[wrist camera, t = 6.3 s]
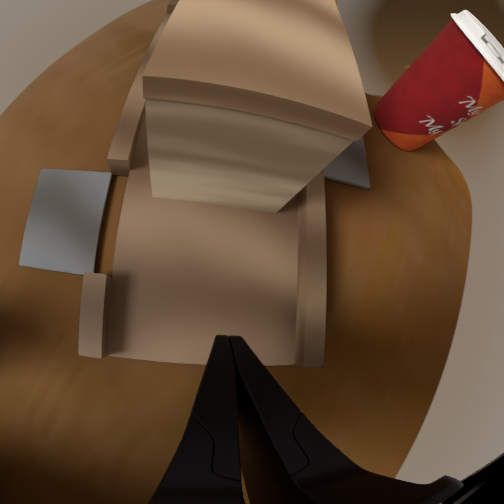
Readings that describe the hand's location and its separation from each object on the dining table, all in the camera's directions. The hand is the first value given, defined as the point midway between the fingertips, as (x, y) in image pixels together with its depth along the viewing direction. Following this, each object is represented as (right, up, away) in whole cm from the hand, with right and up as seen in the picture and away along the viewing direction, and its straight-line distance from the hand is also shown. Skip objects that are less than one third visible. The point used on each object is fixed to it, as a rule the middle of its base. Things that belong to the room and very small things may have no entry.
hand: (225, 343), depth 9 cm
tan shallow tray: (-1, +10, +8) cm, 13 cm away
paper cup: (+15, +15, +14) cm, 25 cm away
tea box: (-1, +12, +8) cm, 14 cm away
